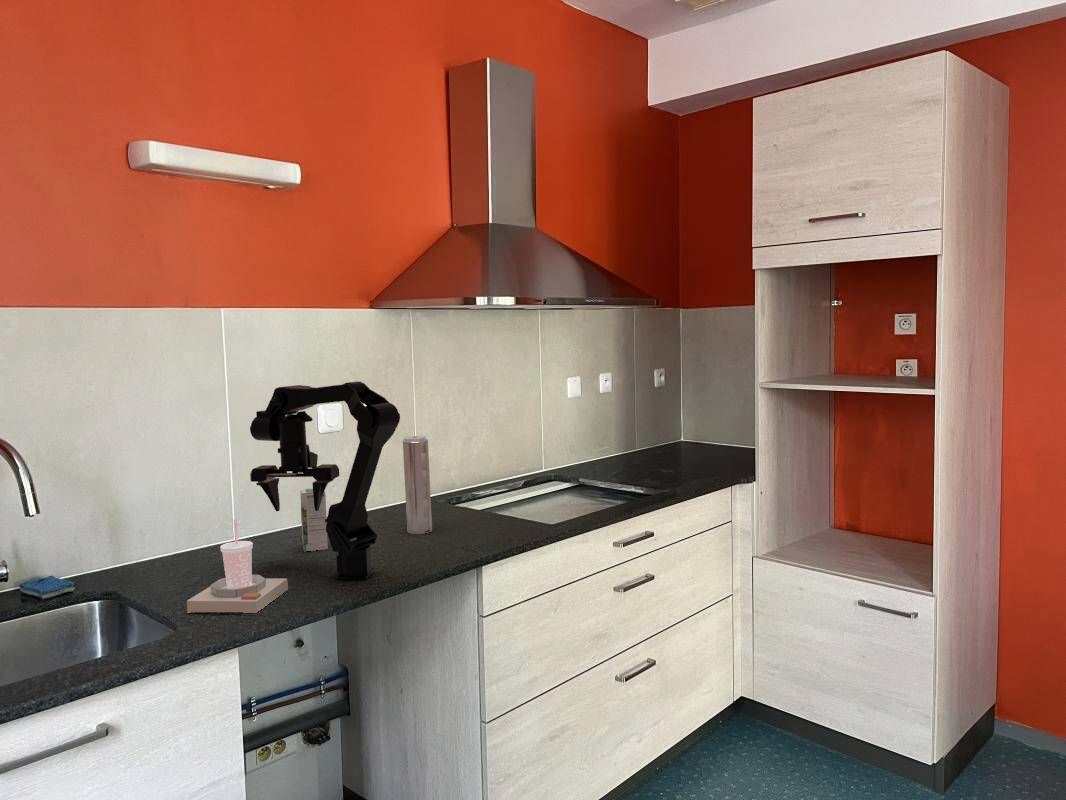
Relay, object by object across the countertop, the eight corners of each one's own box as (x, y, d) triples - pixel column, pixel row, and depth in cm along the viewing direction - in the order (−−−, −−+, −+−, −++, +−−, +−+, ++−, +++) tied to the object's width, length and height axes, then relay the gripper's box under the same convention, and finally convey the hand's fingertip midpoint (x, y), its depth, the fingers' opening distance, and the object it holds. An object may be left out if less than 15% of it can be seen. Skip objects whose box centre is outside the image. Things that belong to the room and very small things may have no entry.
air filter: (408, 535, 210) (404, 439, 208) (405, 529, 216) (401, 436, 214) (434, 533, 212) (429, 437, 209) (430, 527, 218) (425, 434, 216)
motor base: (288, 590, 168) (286, 571, 168) (257, 614, 154) (255, 593, 154) (224, 590, 170) (222, 571, 170) (187, 613, 156) (186, 593, 156)
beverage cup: (227, 596, 158) (222, 525, 157) (219, 588, 163) (214, 519, 162) (259, 589, 161) (255, 519, 160) (250, 582, 166) (246, 514, 165)
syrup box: (302, 547, 202) (298, 489, 201) (326, 544, 204) (323, 486, 203) (304, 552, 197) (300, 493, 196) (329, 549, 199) (325, 490, 198)
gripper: (346, 436, 189) (349, 502, 190) (269, 437, 191) (273, 503, 193) (328, 443, 178) (332, 513, 179) (246, 444, 180) (251, 514, 182)
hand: (297, 510), depth 183 cm, fingers open, 9 cm apart
